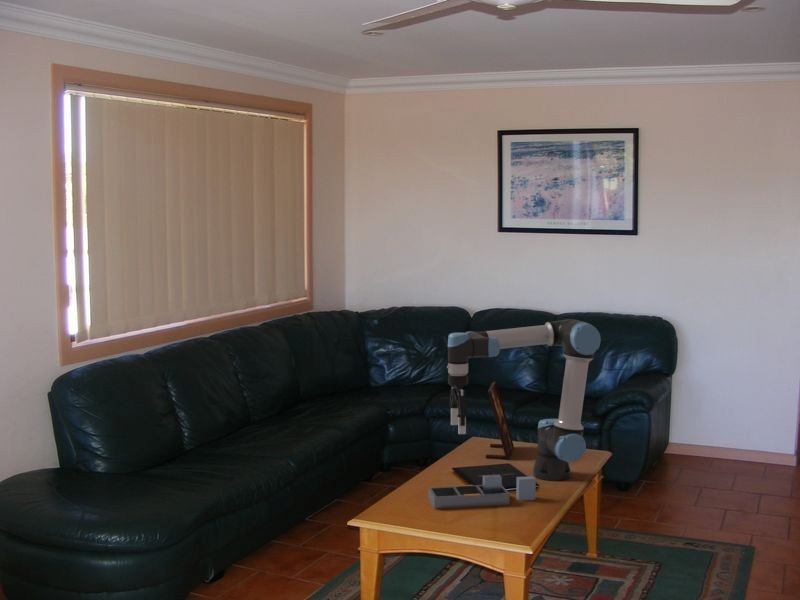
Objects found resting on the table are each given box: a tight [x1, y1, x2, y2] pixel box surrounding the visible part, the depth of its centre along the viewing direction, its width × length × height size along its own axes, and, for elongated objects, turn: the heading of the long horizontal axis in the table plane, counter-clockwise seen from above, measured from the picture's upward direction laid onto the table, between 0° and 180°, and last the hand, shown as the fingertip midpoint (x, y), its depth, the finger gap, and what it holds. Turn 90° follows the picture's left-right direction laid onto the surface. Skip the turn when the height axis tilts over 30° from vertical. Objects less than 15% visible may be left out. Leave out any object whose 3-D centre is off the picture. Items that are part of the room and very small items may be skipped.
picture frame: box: [485, 381, 515, 461], centre depth 399 cm, size 21×11×30 cm, turn 168°
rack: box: [427, 474, 510, 510], centre depth 335 cm, size 28×11×9 cm, turn 99°
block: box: [515, 475, 537, 501], centre depth 339 cm, size 6×3×8 cm, turn 99°
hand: (458, 429), depth 343 cm, fingers open, 13 cm apart
